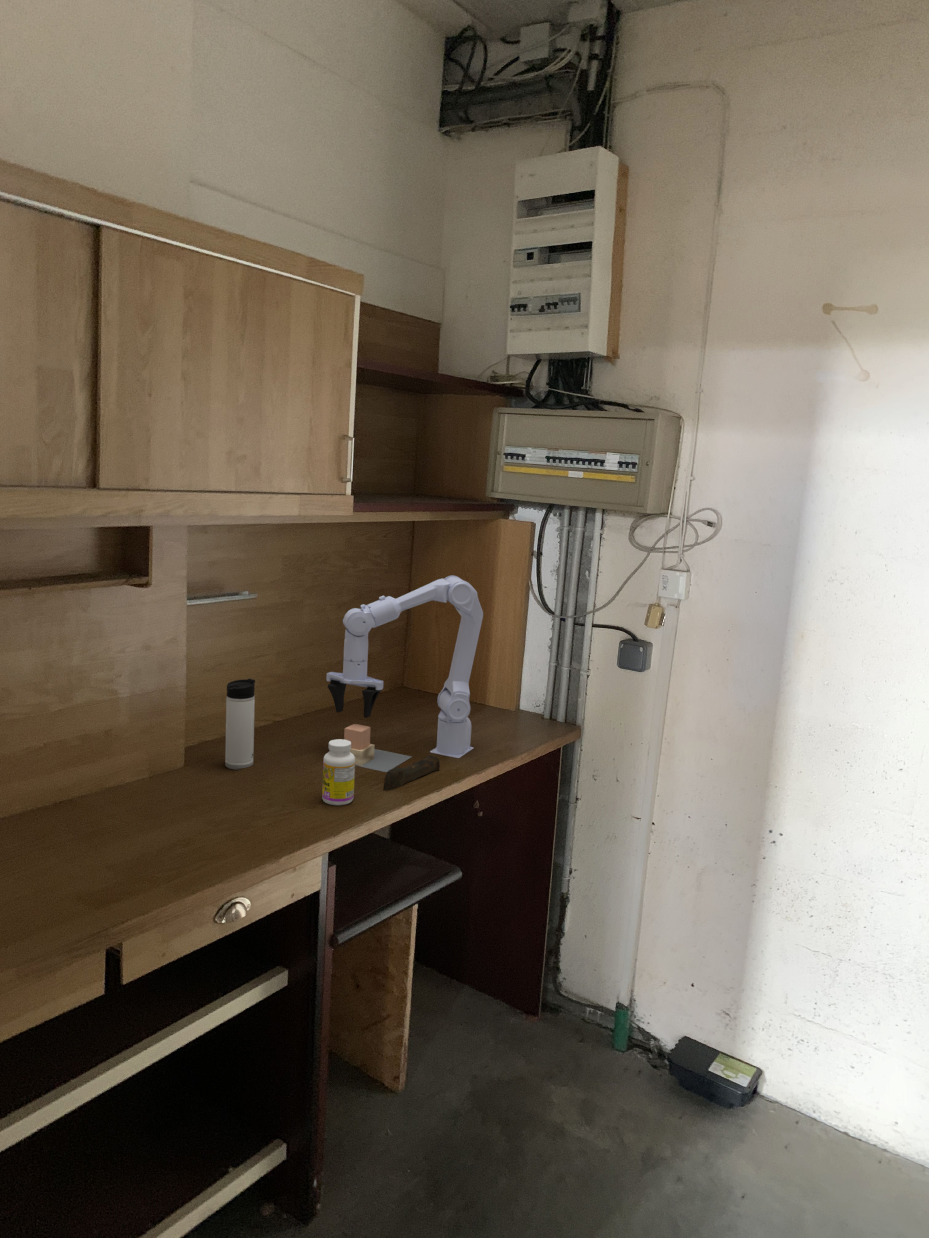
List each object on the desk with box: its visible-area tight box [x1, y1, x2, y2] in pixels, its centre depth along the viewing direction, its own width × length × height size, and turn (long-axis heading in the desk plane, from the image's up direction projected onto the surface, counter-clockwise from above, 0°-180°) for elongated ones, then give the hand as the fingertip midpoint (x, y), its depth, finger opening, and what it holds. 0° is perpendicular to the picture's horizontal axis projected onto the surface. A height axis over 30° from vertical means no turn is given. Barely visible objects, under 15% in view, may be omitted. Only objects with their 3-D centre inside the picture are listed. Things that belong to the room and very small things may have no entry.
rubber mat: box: [355, 748, 412, 773], centre depth 219 cm, size 13×14×1 cm
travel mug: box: [224, 678, 256, 771], centre depth 209 cm, size 6×7×20 cm
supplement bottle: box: [321, 738, 356, 806], centre depth 192 cm, size 7×7×13 cm
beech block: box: [350, 743, 375, 767], centre depth 217 cm, size 6×6×4 cm
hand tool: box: [383, 755, 441, 791], centre depth 207 cm, size 19×4×5 cm, turn 145°
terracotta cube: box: [343, 723, 372, 750], centre depth 216 cm, size 4×4×4 cm
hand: (353, 714), depth 220 cm, fingers open, 7 cm apart
